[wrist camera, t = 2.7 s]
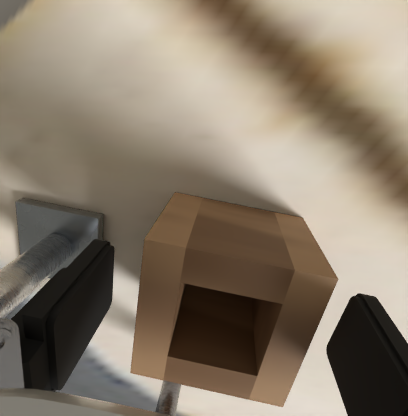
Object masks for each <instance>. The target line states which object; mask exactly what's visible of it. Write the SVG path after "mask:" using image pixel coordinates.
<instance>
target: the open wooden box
mask: <svg viewBox="0 0 408 416" xmlns="http://www.w3.org/2000/svg"><path fill="white" fill-rule="evenodd" d="M337 281H338V278H337V276H336V274H335V273H334V271H333V269H332V268H331V266H330V264H329V262H328V261H327V259H326V257H325V255H324V254H323V252H322V250H321V249H320V247H319V245H318V243H317V242H316V240H315V238H314V236H313V235H312V233H311V231H310V230H309V228H308V226H307V224H306V223H305V221H304V219H303V218H301V217H296V216H291V215H286V214H281V213H276V212H271V211H266V210H261V209H256V208H251V207H246V206H241V205H236V204H231V203H226V202H221V201H216V200H211V199H206V198H201V197H196V196H191V195H186V194H181V193H176V192H175V193H174V195H173V196H172V198H171V199H170V201H169V202H168V204H167V205H166V207H165V208H164V210H163V211H162V213H161V214H160V216H159V217H158V219H157V220H156V222H155V223H154V225H153V227H152V228H151V230H150V231H149V233H148V234H147V236H146V237H145V239H144V246H143V256H142V266H141V275H140V285H139V295H138V304H137V314H136V324H135V333H134V343H133V353H132V362H131V372H130V373H133V374H137V375H142V376H146V377H151V378H155V379H160V380H164V381H168V382H173V383H177V384H182V385H186V386H191V387H195V388H200V389H204V390H209V391H213V392H218V393H222V394H226V395H231V396H235V397H240V398H244V399H249V400H253V401H258V402H262V403H267V404H271V405H275V406H280V407H283V406H284V403H285V401H286V399H287V396H288V394H289V392H290V389H291V387H292V385H293V382H294V380H295V378H296V376H297V373H298V371H299V369H300V366H301V364H302V362H303V359H304V357H305V355H306V353H307V350H308V348H309V346H310V343H311V341H312V339H313V336H314V334H315V332H316V329H317V327H318V325H319V323H320V320H321V318H322V316H323V313H324V311H325V309H326V306H327V304H328V302H329V299H330V297H331V295H332V293H333V290H334V288H335V286H336V283H337Z"/></svg>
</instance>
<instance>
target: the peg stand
mask: <svg viewBox="0 0 408 416" xmlns="http://www.w3.org/2000/svg"><path fill="white" fill-rule="evenodd" d="M15 203H16V214H17V224H18V235H19V246H20V256H19V257H17V258H16V259H15V260H13V261H12V262H10V263H9V264H8V265H6V266H5V267H3V268H2V269H1V270H0V318H5V317H6V316H7V315H8V314H9V313H10V312H12V311H13V310H14V309H15V308H16V307H17V306H18V305H19V304H20V303H21V302H22V301H23V300H24V299H25V298H26V297H27V296H29V295H30V294H31V293H32V292H33V291H34V290H35V289H36V288H37V287H38V286H39V285H40V284H41V283H42V282H43V281H44V280H46V279H47V278H52V277H53V276H54V275H55V274H56V273H57V272H58V271H59V270H61V269H62V268H67V267H68V266H69V265H70V264H71V263H72V262H73V261H74V259H75V258H76V257H77V256H78V255H79V254H80V253H81V252H82V251H83V250H84V249H85V248H86V247H87V246H88V245H89V244H90V243H91V242H92V241H93V240H94V239H99V240H103V214H100V213H95V212H90V211H85V210H80V209H75V208H71V207H66V206H61V205H56V204H51V203H46V202H41V201H36V200H32V199H27V198H22V199H20V200H18V201H16V202H15Z"/></svg>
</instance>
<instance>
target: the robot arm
mask: <svg viewBox="0 0 408 416" xmlns="http://www.w3.org/2000/svg"><path fill="white" fill-rule="evenodd" d="M113 269H114V247H113V246H111V245H110V242H108V241H104V240H99V239H94V240H93V241H92V242H91V243H90V244H89V245H88V246H87V247H86V248H85V249H84V250H83V251H82V252H81V253H80V254H79V255H78V256H77V257H76V258H75V259H74V261H73V262H72V263H71V264H70V265H69V266H68V267H67V268H62V269H61V270H59V271H58V272H57V273H56V274H55V275H54V276H53V277H52V278H51V279H50V280H49V281H48V282H47V283H46V284H45V285H44V286H43V287H42V288H41V289H40V290H39V291H38V292H37V294H36V295H35V296H34V297H33V298H32V299H31V300H30V301H29V302H28V303H27V304H26V305H25V306H24V307H23V308H22V309H21V310H20V311H19V312H18V313H17V314H16V315H15V316H14V317H13V318H12V319H11V320H10V319H7V318H0V416H170V415H165V414H161V413H156V412H152V411H147V410H143V409H138V408H133V407H129V406H124V405H120V404H115V403H110V402H105V401H100V400H95V399H90V398H85V397H80V396H75V395H70V394H65V393H60V392H55V391H56V390H61V389H62V388H63V386H64V385H65V383H66V381H67V380H68V378H69V376H70V375H71V373H72V371H73V370H74V368H75V366H76V364H77V363H78V361H79V359H80V358H81V356H82V354H83V352H84V351H85V349H86V347H87V346H88V344H89V342H90V340H91V339H92V337H93V335H94V334H95V332H96V330H97V328H98V327H99V325H100V323H101V322H102V320H103V318H104V316H105V315H106V313H107V311H108V310H109V308H110V305H111V302H112V292H113ZM327 356H328V359H329V362H330V365H331V368H332V371H333V374H334V377H335V379H336V382H337V385H338V388H339V391H340V394H341V397H342V400H343V403H344V406H345V409H346V412H347V414H348V416H408V343H407V342H406V340H405V339H404V337H403V336H402V334H401V333H400V332H399V330H398V329H397V327H396V326H395V324H394V323H393V321H392V320H391V318H390V317H389V315H388V314H387V312H386V311H385V309H384V308H383V306H382V305H381V303H380V302H379V301H378V299H377V298H376V297H374V296H369V295H365V294H357V295H356V296H352V297H351V298H350V300H349V302H348V304H347V306H346V308H345V310H344V312H343V314H342V316H341V318H340V320H339V322H338V324H337V326H336V328H335V330H334V332H333V334H332V336H331V338H330V340H329V342H328V345H327Z"/></svg>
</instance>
